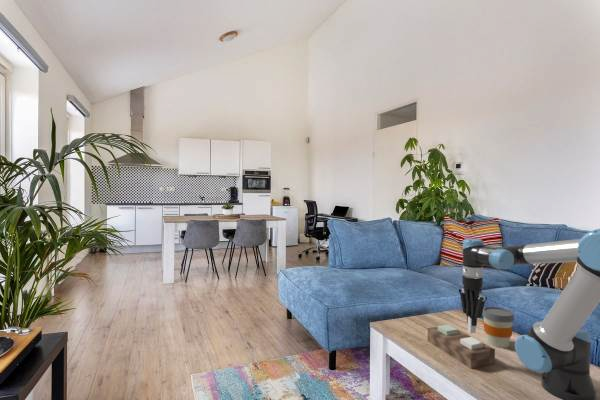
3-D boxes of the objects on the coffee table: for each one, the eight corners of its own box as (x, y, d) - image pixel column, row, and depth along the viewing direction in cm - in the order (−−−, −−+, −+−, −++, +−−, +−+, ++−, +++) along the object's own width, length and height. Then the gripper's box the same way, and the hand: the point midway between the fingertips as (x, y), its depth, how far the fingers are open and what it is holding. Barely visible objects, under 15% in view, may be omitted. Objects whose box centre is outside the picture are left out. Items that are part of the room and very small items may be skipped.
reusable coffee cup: (501, 352, 148) (501, 318, 147) (476, 340, 159) (476, 308, 159) (519, 346, 153) (520, 313, 152) (494, 335, 164) (494, 305, 164)
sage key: (457, 340, 153) (457, 329, 153) (446, 342, 151) (446, 331, 151) (448, 334, 159) (448, 324, 158) (437, 336, 157) (437, 325, 157)
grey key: (482, 354, 139) (483, 342, 139) (471, 357, 138) (471, 345, 138) (471, 348, 145) (471, 336, 145) (460, 350, 143) (460, 338, 143)
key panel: (494, 363, 138) (494, 349, 137) (471, 368, 134) (471, 353, 134) (448, 337, 162) (448, 325, 162) (427, 340, 159) (427, 328, 159)
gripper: (453, 273, 146) (452, 327, 146) (477, 280, 133) (477, 340, 134) (467, 271, 148) (466, 325, 149) (492, 279, 135) (491, 337, 136)
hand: (471, 332), depth 141 cm, fingers closed
